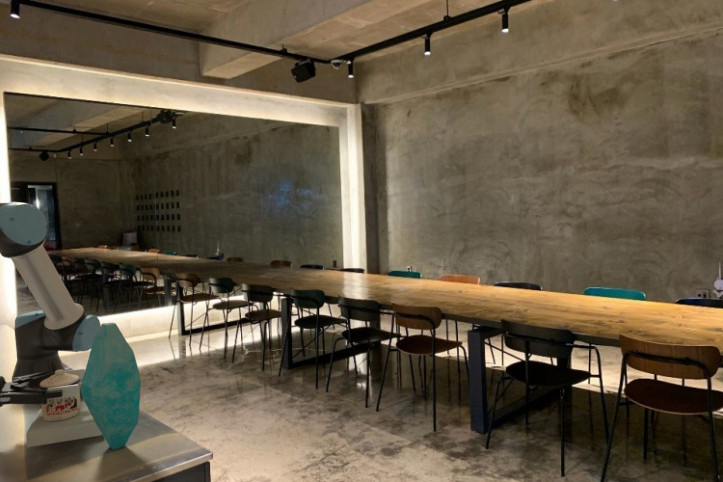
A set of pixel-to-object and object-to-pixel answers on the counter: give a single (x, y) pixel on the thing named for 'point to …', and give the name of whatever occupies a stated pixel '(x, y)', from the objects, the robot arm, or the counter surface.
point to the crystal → (112, 385)
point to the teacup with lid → (61, 406)
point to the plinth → (62, 428)
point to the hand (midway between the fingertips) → (81, 381)
